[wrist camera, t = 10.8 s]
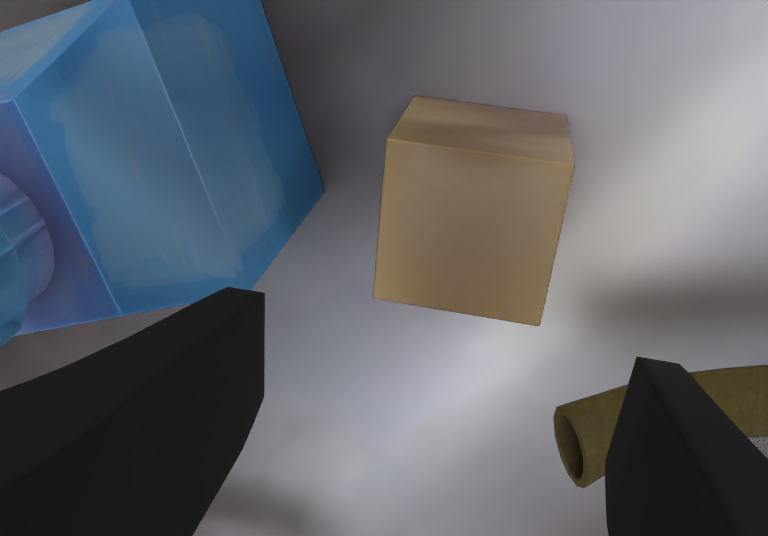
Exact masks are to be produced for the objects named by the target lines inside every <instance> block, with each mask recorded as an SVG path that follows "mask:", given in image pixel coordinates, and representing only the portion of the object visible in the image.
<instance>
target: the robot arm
mask: <svg viewBox="0 0 768 536" xmlns="http://www.w3.org/2000/svg"><path fill="white" fill-rule="evenodd" d="M264 327H265V293H262V292H256V291H251V290H245V289H239V288H233V287H226V288H224V289H222V290H219V291H217V292H215V293H213V294H211V295H209V296H207V297H205V298H203V299H201V300H199V301H197V302H195V303H193V304H191V305H190V306H188V307H186V308H184V309H182V310H180V311H178V312H176V313H174V314H172V315H171V316H169V317H167V318H165V319H163V320H161V321H159V322H157V323H155V324H153V325H151V326H149V327H147V328H145V329H143V330H141V331H139V332H138V333H136V334H134V335H132V336H130V337H128V338H126V339H123V340H121V341H119V342H117V343H115V344H113V345H110V346H108V347H106V348H104V349H102V350H100V351H97V352H95V353H93V354H91V355H89V356H87V357H84V358H82V359H80V360H78V361H76V362H74V363H71V364H69V365H67V366H64V367H62V368H60V369H57V370H55V371H52V372H50V373H47V374H45V375H42V376H40V377H37V378H35V379H32V380H29V381H27V382H24V383H21V384H18V385H16V386H13V387H10V388H7V389H5V390H2V391H0V536H192V535H193V534H194V532H195V530H196V529H197V527H198V525H199V523H200V522H201V520H202V518H203V517H204V515H205V513H206V511H207V510H208V508H209V506H210V505H211V503H212V501H213V500H214V498H215V496H216V494H217V493H218V491H219V489H220V488H221V486H222V484H223V482H224V481H225V479H226V477H227V475H228V474H229V472H230V470H231V468H232V467H233V465H234V463H235V462H236V460H237V458H238V456H239V454H240V453H241V451H242V449H243V447H244V444H245V442H246V440H247V437H248V435H249V433H250V430H251V428H252V426H253V423H254V421H255V418H256V416H257V413H258V411H259V408H260V406H261V403H262V401H263V398H264ZM605 491H606V517H607V527H608V534H609V536H768V459H767V458H766V457H765V456H764V455H763V454H762V453H761V452H760V451H759V450H758V448H757V447H756V446H755V445H754V444H753V443H752V442H751V441H750V440H749V439H748V438H747V437H746V436H745V435H744V434H743V432H742V431H741V430H740V429H739V428H738V427H737V426H736V425H735V424H734V423H733V422H732V420H731V419H730V418H729V417H728V416H727V415H726V414H725V413H724V412H723V410H722V409H721V408H720V407H719V406H718V405H717V404H716V403H715V402H714V400H713V399H712V398H711V397H710V396H709V395H708V394H707V393H706V392H705V390H704V389H703V388H702V387H701V386H700V385H699V384H698V383H697V382H696V381H695V379H694V378H693V377H692V376H691V375H690V374H689V373H688V372H687V371H686V370H685V369H684V368H683V367H682V366H681V365H680V364H677V363H671V362H665V361H659V360H654V359H648V358H642V357H636V361H635V364H634V367H633V370H632V374H631V377H630V380H629V384H628V387H627V390H626V394H625V397H624V400H623V403H622V407H621V410H620V413H619V417H618V420H617V423H616V426H615V430H614V433H613V436H612V440H611V443H610V446H609V450H608V453H607V456H606V459H605Z"/></svg>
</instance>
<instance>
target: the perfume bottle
mask: <svg viewBox="0 0 768 536" xmlns="http://www.w3.org/2000/svg"><path fill="white" fill-rule="evenodd" d="M324 191H325V190H324V187H323V184H322V181H321V178H320V176H319V173H318V170H317V167H316V164H315V161H314V158H313V155H312V152H311V149H310V146H309V143H308V140H307V137H306V134H305V131H304V128H303V125H302V122H301V119H300V116H299V113H298V110H297V107H296V104H295V101H294V98H293V95H292V92H291V89H290V86H289V83H288V81H287V78H286V75H285V72H284V69H283V66H282V63H281V60H280V57H279V54H278V51H277V48H276V45H275V42H274V39H273V36H272V33H271V30H270V27H269V24H268V21H267V18H266V15H265V12H264V9H263V6H262V3H261V0H92V1H89V2H86V3H83V4H81V5H78V6H75V7H72V8H69V9H66V10H63V11H60V12H57V13H54V14H51V15H48V16H45V17H43V18H40V19H37V20H34V21H31V22H28V23H25V24H22V25H19V26H16V27H13V28H10V29H7V30H4V31H2V32H0V349H1V348H3V347H4V346H5V345H6V344H7V343H8V342H9V341H10V340H11V339H12V338H13V337H14V336H16V335H22V334H27V333H33V332H38V331H44V330H49V329H55V328H60V327H66V326H71V325H77V324H82V323H88V322H93V321H99V320H104V319H109V318H115V317H120V316H126V315H131V314H137V313H142V312H148V311H153V310H159V309H164V308H170V307H175V306H181V305H186V304H192V303H195V302H197V301H199V300H201V299H203V298H205V297H207V296H209V295H211V294H213V293H215V292H217V291H219V290H222V289H224V288H226V287H233V288H239V289H245V290H251V289H252V288H253V286H254V285H255V284H256V282H257V281H258V280H259V278H260V277H261V276H262V274H263V273H264V272H265V270H266V269H267V268H268V266H269V265H270V264H271V262H272V261H273V260H274V258H275V257H276V256H277V254H278V253H279V252H280V250H281V249H282V248H283V246H284V245H285V244H286V242H287V241H288V240H289V238H290V237H291V236H292V234H293V233H294V232H295V230H296V229H297V227H298V226H299V225H300V223H301V222H302V221H303V219H304V218H305V217H306V215H307V214H308V213H309V211H310V210H311V209H312V207H313V206H314V205H315V203H316V202H317V201H318V199H319V198H320V197H321V195H322V194H323V193H324Z"/></svg>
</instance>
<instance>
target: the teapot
mask: <svg viewBox="0 0 768 536" xmlns="http://www.w3.org/2000/svg"><path fill="white" fill-rule="evenodd" d="M689 374H690V375H691V376H692V377H693V378H694V379H695V381H696V382H697V383H698V384H699V385H700V386H701V387H702V388H703V389H704V390H705V392H706V393H707V394H708V395H709V396H710V397H711V398H712V399H713V400H714V402H715V403H716V404H717V405H718V406H719V407H720V408H721V409H722V410H723V412H724V413H725V414H726V415H727V416H728V417H729V418H730V419H731V420H732V422H733V423H734V424H735V425H736V426H737V427H738V428H739V429H740V430H741V431H742V432H743V434H744V435H745V436H746V437H768V365H760V366H747V367H735V368H722V369H713V370H705V371H697V372H689ZM627 387H628V385H625V386H621V387H618V388H615V389H612V390H609V391H605V392H602V393H599V394H596V395H593V396H589V397H586V398H583V399H580V400H577V401H574V402H570V403H567V404H564V405H561V406H558V407H557V408H556V411H555V414H554V428H555V437H556V441H557V445H558V449H559V453H560V456H561V459H562V461H563V463H564V466H565V468H566V470H567V473H568V475H569V476H570V477H571V479H572V480H573V481H574V483H575V484H576V486H578V487H582V488H585V487H587V486H588V485H590V484H592V483H593V482H595V481H596V480H598V479H599V478H601V477H603V476H604V475H605V459H606V456H607V453H608V450H609V446H610V443H611V440H612V436H613V433H614V430H615V426H616V423H617V420H618V417H619V413H620V410H621V407H622V403H623V400H624V397H625V394H626V390H627Z"/></svg>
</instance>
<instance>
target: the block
mask: <svg viewBox="0 0 768 536" xmlns="http://www.w3.org/2000/svg"><path fill="white" fill-rule="evenodd" d="M574 168H575V163H574V157H573V151H572V144H571V138H570V132H569V126H568V120H567V116H566V115H558V114H550V113H543V112H535V111H527V110H520V109H512V108H504V107H496V106H489V105H481V104H473V103H466V102H458V101H450V100H442V99H435V98H427V97H419V96H414V97H413V99H412V101H411V102H410V104H409V105H408V107H407V108H406V110H405V111H404V113H403V114H402V116H401V117H400V119H399V120H398V122H397V123H396V125H395V127H394V128H393V130H392V131H391V133H390V134H389V136H388V137H387V139H386V147H385V159H384V170H383V182H382V193H381V205H380V216H379V228H378V239H377V251H376V262H375V274H374V285H373V298H374V299H380V300H386V301H392V302H398V303H404V304H409V305H415V306H421V307H427V308H433V309H439V310H445V311H451V312H457V313H463V314H469V315H475V316H481V317H487V318H492V319H498V320H504V321H510V322H516V323H522V324H528V325H534V326H539V325H540V323H541V318H542V313H543V309H544V304H545V300H546V295H547V291H548V286H549V282H550V277H551V273H552V268H553V263H554V259H555V254H556V250H557V245H558V241H559V236H560V232H561V227H562V223H563V218H564V213H565V209H566V204H567V200H568V195H569V191H570V186H571V182H572V177H573V173H574Z"/></svg>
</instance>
